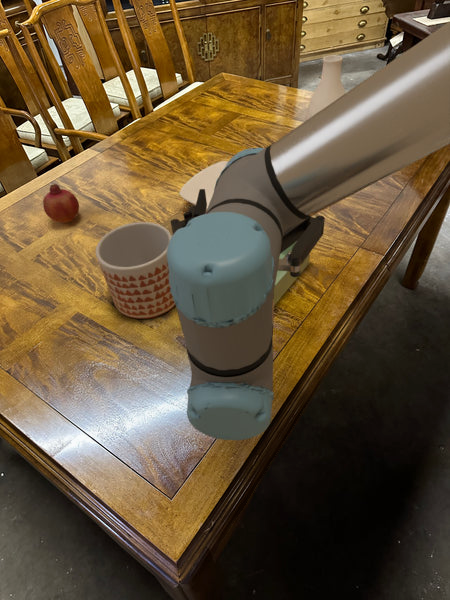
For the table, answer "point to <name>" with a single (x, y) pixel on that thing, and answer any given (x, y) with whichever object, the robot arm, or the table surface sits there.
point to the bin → (285, 277)
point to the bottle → (327, 86)
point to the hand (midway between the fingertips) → (249, 195)
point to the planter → (137, 268)
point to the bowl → (202, 183)
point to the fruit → (60, 204)
